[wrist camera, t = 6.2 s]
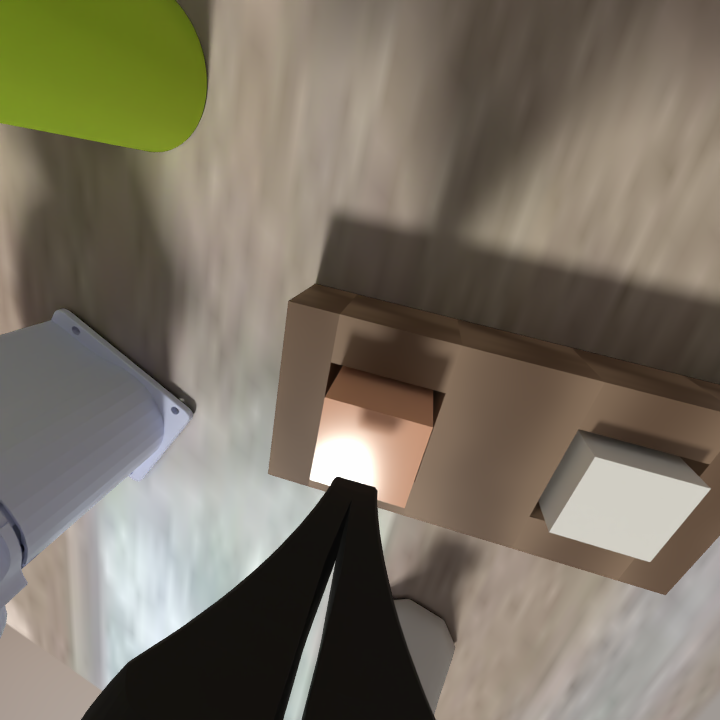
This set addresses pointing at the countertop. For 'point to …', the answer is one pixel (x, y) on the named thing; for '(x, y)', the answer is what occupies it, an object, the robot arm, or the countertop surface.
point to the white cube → (619, 495)
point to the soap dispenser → (102, 70)
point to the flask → (426, 646)
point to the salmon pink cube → (373, 433)
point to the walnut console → (498, 422)
